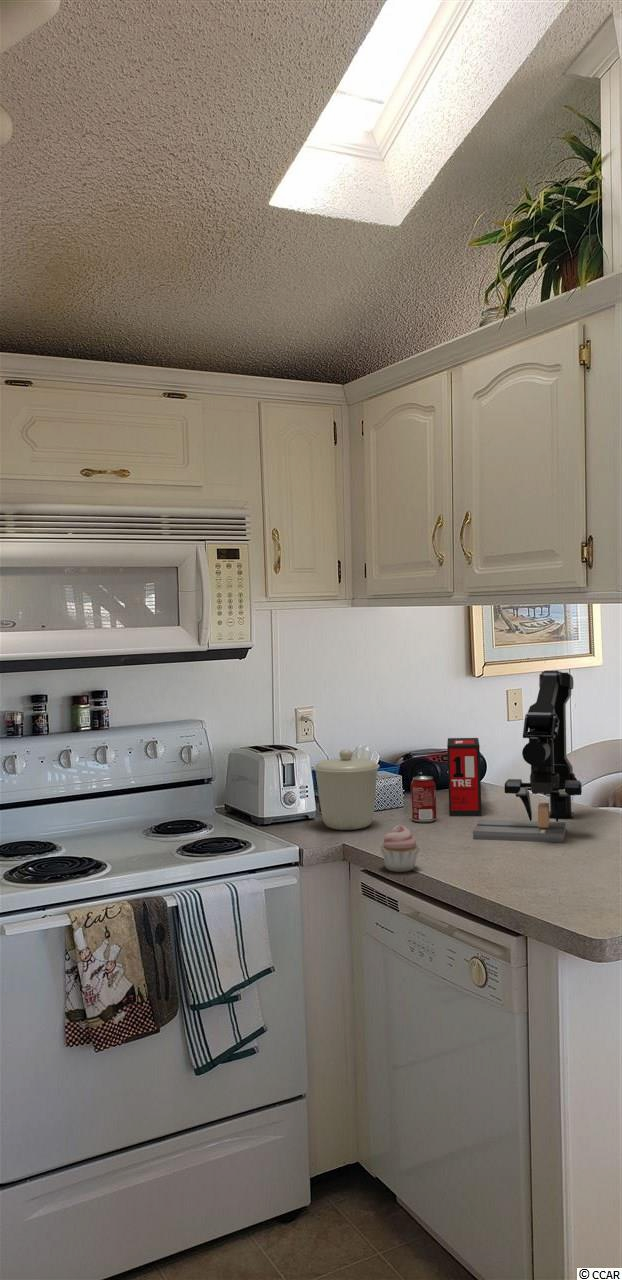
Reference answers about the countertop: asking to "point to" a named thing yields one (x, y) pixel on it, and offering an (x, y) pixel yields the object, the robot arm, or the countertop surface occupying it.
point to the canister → (347, 791)
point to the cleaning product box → (464, 777)
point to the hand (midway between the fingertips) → (543, 820)
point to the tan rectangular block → (543, 815)
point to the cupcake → (399, 850)
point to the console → (519, 831)
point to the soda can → (423, 799)
